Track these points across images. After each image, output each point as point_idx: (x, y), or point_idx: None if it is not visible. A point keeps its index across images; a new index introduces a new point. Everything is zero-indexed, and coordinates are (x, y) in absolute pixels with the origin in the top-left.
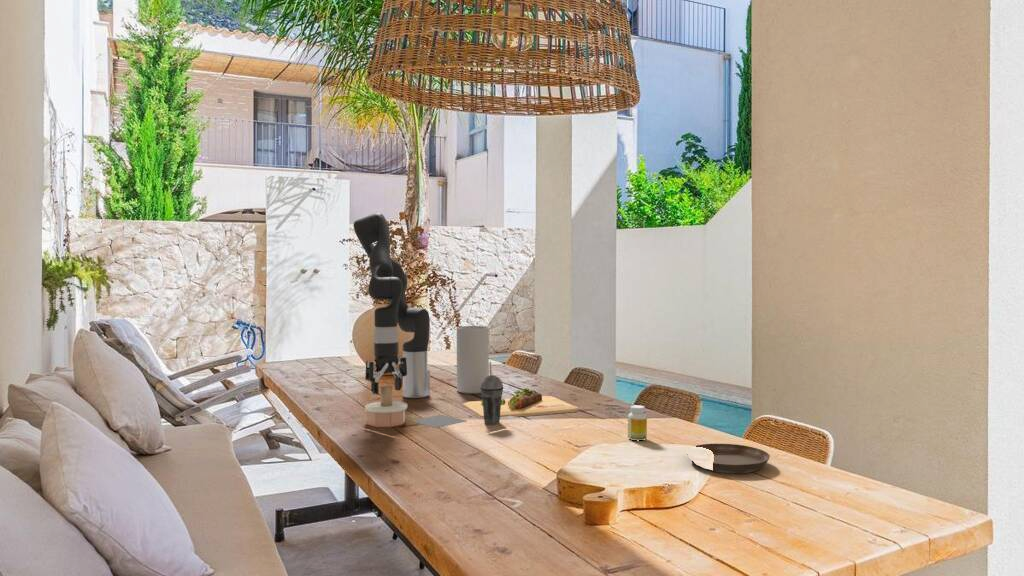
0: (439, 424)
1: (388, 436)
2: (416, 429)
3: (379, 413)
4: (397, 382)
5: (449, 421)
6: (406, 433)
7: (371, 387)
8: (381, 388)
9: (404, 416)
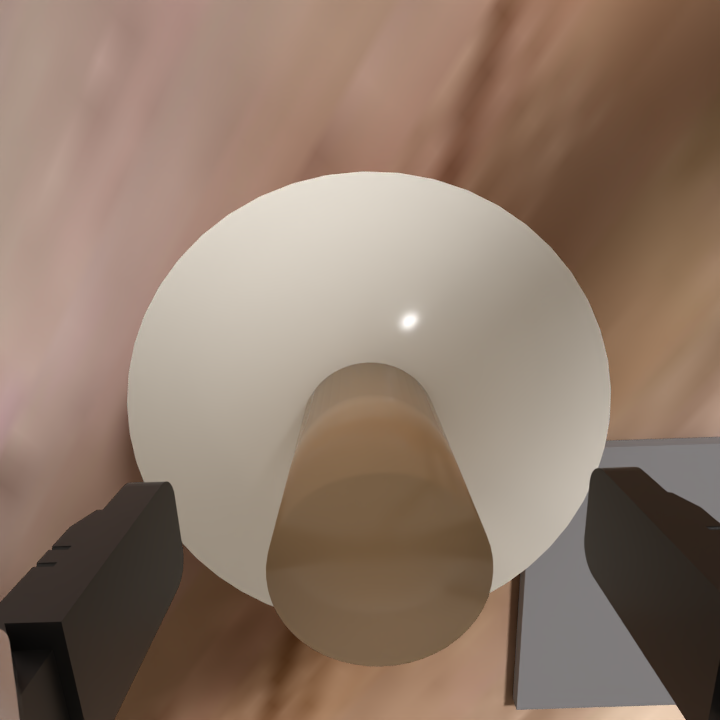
0: (596, 663)
1: (180, 647)
2: None
3: None
4: (658, 626)
5: None
6: (313, 658)
7: (34, 569)
8: (269, 560)
9: None
